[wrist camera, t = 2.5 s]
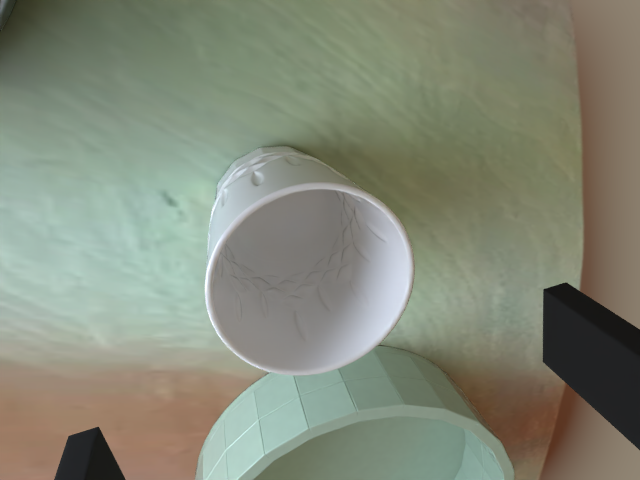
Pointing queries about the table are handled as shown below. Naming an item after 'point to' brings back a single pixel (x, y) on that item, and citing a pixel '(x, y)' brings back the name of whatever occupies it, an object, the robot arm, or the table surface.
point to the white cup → (302, 264)
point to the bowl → (355, 427)
